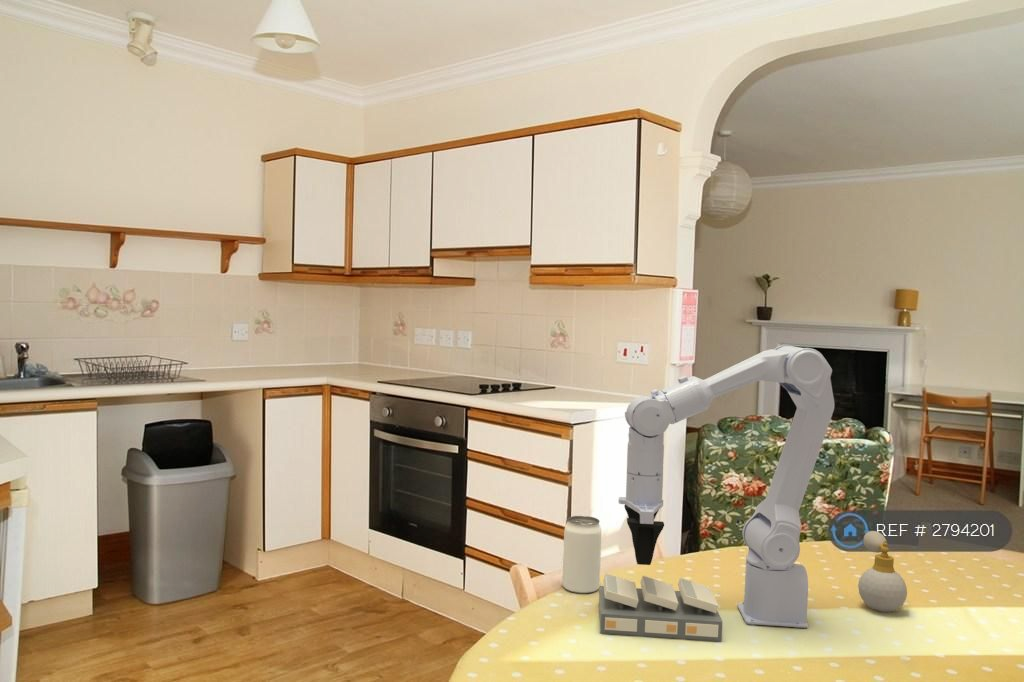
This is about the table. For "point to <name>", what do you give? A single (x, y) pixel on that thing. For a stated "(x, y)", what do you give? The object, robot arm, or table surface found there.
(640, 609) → the switch box
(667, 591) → the rocker mid
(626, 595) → the rocker
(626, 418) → the robot arm
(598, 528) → the can
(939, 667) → the table surface
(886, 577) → the perfume bottle
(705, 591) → the rocker
